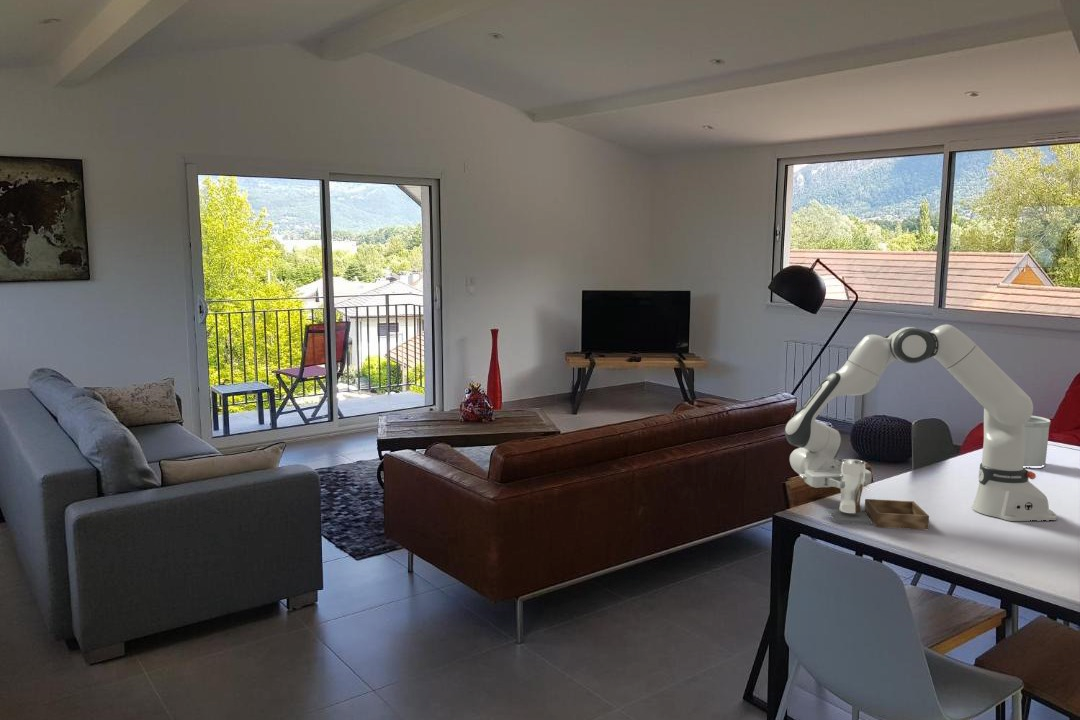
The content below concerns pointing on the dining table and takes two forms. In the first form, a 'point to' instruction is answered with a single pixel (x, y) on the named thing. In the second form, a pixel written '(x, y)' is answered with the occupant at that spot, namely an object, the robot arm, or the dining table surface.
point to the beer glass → (851, 485)
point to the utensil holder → (1036, 441)
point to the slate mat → (849, 517)
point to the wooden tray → (896, 514)
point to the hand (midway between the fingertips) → (853, 484)
